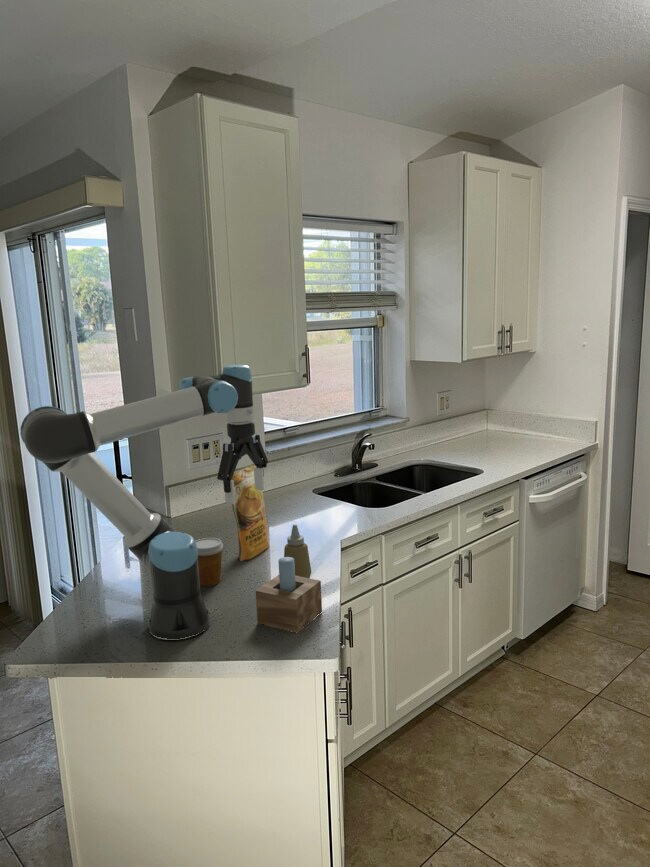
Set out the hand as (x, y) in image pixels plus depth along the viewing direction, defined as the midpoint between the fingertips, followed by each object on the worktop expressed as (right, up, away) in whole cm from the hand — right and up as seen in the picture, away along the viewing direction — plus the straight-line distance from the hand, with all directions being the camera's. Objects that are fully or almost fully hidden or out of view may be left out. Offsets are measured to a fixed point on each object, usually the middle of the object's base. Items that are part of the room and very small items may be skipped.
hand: (245, 496), depth 188 cm
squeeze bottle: (+14, -26, +5) cm, 30 cm away
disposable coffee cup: (-12, -26, +9) cm, 30 cm away
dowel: (+13, -28, -16) cm, 35 cm away
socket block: (+13, -30, -15) cm, 36 cm away
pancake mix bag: (-1, -21, +31) cm, 37 cm away
